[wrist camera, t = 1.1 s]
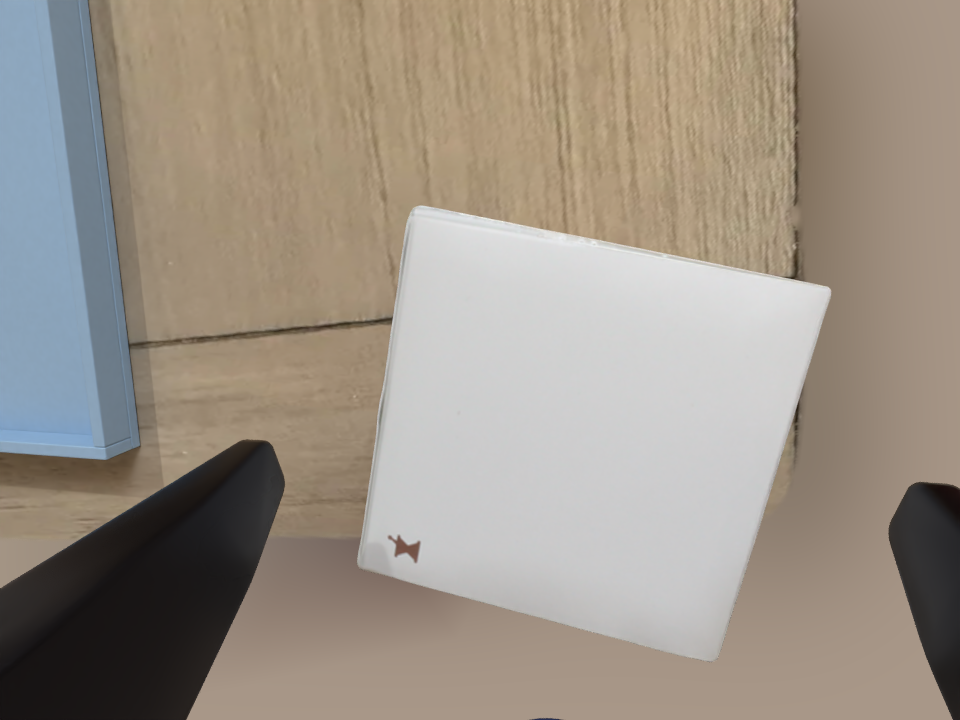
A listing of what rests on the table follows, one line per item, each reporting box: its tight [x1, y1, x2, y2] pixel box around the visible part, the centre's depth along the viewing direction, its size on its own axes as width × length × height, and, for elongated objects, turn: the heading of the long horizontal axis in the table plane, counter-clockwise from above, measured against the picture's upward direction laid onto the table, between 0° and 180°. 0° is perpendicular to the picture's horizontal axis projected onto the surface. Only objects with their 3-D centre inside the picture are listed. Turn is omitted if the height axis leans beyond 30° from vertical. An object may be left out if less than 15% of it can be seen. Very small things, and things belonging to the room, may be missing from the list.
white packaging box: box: [357, 206, 831, 662], centre depth 16 cm, size 7×7×13 cm
